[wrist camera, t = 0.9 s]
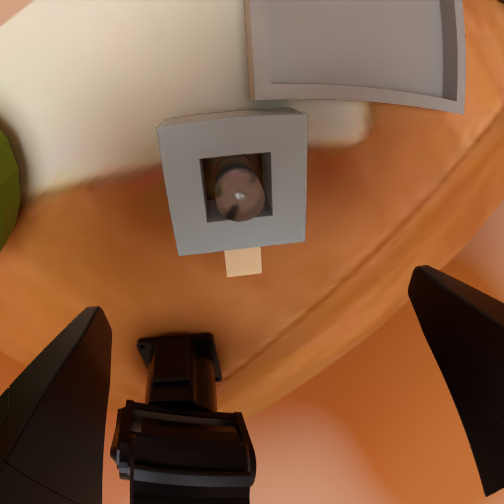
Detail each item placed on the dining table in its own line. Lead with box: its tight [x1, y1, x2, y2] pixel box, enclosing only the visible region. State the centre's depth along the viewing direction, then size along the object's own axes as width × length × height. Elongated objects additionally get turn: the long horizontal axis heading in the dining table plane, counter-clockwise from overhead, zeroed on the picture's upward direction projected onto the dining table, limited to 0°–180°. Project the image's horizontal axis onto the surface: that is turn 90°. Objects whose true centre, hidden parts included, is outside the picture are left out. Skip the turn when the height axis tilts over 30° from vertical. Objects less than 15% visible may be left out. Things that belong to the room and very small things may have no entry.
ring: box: [157, 108, 307, 277], centre depth 17 cm, size 9×7×3 cm
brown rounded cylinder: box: [214, 154, 265, 222], centre depth 16 cm, size 2×2×4 cm
